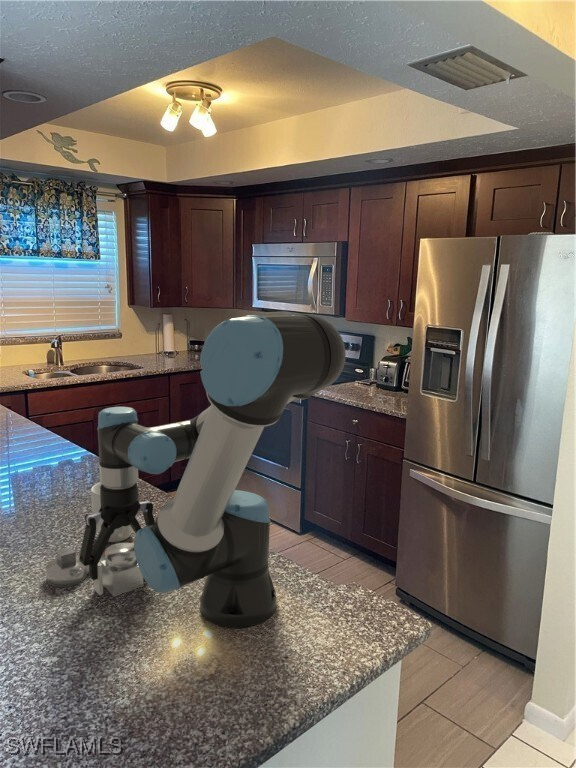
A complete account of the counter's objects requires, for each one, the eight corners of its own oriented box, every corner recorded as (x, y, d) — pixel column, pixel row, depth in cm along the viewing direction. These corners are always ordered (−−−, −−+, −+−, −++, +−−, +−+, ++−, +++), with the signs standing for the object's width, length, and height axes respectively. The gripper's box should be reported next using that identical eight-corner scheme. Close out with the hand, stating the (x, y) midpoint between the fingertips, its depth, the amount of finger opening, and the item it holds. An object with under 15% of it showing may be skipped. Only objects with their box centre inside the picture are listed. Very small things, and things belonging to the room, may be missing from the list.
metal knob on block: (143, 586, 117) (142, 551, 116) (113, 596, 113) (112, 560, 112) (130, 573, 122) (129, 539, 121) (101, 583, 118) (100, 548, 117)
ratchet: (150, 560, 128) (150, 535, 127) (54, 591, 114) (52, 564, 113) (135, 547, 134) (134, 523, 133) (41, 575, 120) (40, 549, 119)
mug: (150, 546, 135) (149, 495, 132) (104, 557, 129) (102, 504, 126) (130, 523, 147) (129, 476, 144) (87, 532, 141) (85, 483, 138)
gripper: (159, 467, 123) (160, 561, 128) (57, 489, 109) (62, 593, 113) (176, 477, 118) (177, 574, 122) (71, 501, 104) (76, 610, 108)
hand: (121, 583), depth 118 cm, fingers open, 9 cm apart
